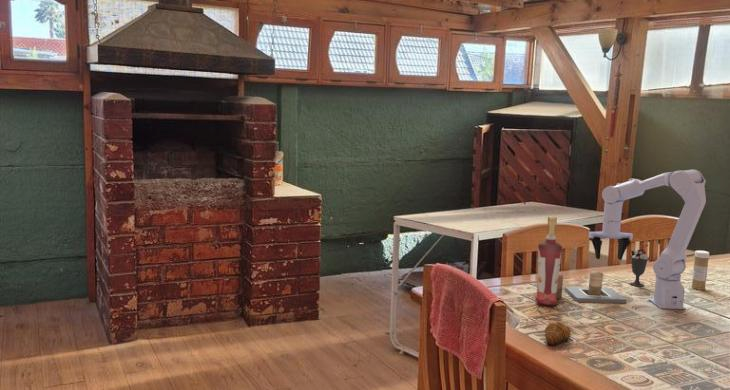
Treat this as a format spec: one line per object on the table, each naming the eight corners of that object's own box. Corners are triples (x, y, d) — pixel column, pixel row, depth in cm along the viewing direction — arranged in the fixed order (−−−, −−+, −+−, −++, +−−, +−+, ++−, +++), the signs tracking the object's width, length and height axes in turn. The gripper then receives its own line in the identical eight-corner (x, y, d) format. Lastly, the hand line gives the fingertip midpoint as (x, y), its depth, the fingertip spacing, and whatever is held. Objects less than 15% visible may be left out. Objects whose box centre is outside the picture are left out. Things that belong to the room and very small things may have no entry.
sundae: (650, 287, 226) (654, 246, 224) (631, 287, 226) (635, 245, 224) (642, 282, 233) (646, 242, 230) (624, 282, 233) (627, 241, 231)
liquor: (558, 308, 199) (565, 220, 195) (534, 306, 201) (541, 218, 197) (556, 301, 206) (563, 216, 202) (533, 299, 208) (539, 214, 204)
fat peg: (564, 298, 210) (566, 278, 209) (542, 298, 210) (544, 277, 209) (557, 292, 217) (559, 272, 216) (536, 291, 217) (538, 271, 216)
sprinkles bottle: (694, 285, 231) (698, 249, 229) (707, 288, 227) (711, 252, 225) (688, 287, 228) (692, 251, 226) (702, 291, 224) (706, 253, 222)
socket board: (626, 303, 207) (626, 299, 207) (576, 301, 207) (577, 297, 207) (610, 291, 220) (611, 287, 220) (564, 289, 220) (564, 286, 220)
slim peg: (602, 298, 212) (604, 275, 210) (589, 297, 212) (592, 274, 211) (598, 294, 216) (600, 271, 214) (586, 294, 216) (588, 271, 214)
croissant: (552, 329, 180) (554, 312, 179) (577, 335, 176) (578, 318, 176) (536, 343, 169) (537, 325, 168) (561, 350, 165) (563, 331, 165)
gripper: (628, 219, 225) (624, 256, 227) (587, 217, 225) (583, 255, 227) (636, 222, 218) (632, 261, 220) (594, 221, 218) (590, 260, 220)
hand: (608, 258), depth 223 cm, fingers open, 7 cm apart
